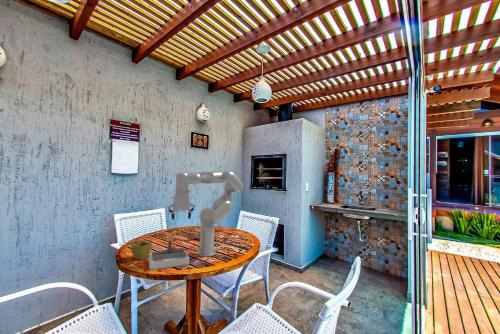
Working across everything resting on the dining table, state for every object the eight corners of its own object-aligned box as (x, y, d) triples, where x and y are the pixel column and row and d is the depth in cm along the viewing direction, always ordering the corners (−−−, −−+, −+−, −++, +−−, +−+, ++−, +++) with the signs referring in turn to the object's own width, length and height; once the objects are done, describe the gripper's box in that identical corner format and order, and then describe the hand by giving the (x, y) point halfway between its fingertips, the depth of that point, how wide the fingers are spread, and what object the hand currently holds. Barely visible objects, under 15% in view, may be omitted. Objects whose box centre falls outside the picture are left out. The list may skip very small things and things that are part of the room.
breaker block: (184, 256, 147) (185, 246, 147) (189, 264, 134) (189, 253, 135) (148, 261, 136) (149, 251, 137) (149, 270, 124) (150, 258, 124)
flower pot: (141, 254, 147) (142, 241, 148) (151, 256, 144) (152, 243, 145) (130, 259, 139) (130, 244, 140) (140, 261, 136) (141, 246, 136)
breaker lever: (171, 253, 139) (172, 234, 140) (173, 256, 134) (174, 236, 134) (165, 254, 137) (166, 234, 138) (166, 257, 132) (167, 237, 133)
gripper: (194, 191, 148) (193, 217, 147) (167, 192, 140) (166, 219, 140) (196, 192, 141) (196, 219, 140) (168, 193, 133) (167, 221, 133)
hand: (181, 219), depth 140 cm, fingers open, 9 cm apart
